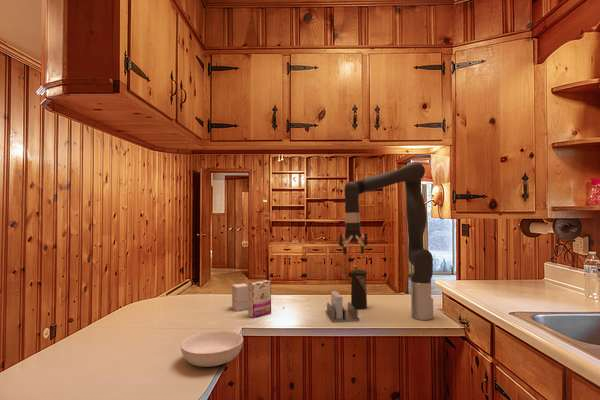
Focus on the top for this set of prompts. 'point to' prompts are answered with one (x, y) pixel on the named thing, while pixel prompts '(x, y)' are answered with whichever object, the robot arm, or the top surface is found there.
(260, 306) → the candy bar box
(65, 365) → the top surface
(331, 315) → the dish rack
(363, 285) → the container
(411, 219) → the robot arm
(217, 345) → the serving bowl
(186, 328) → the top surface
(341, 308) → the dish slab
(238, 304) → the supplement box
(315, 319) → the top surface
